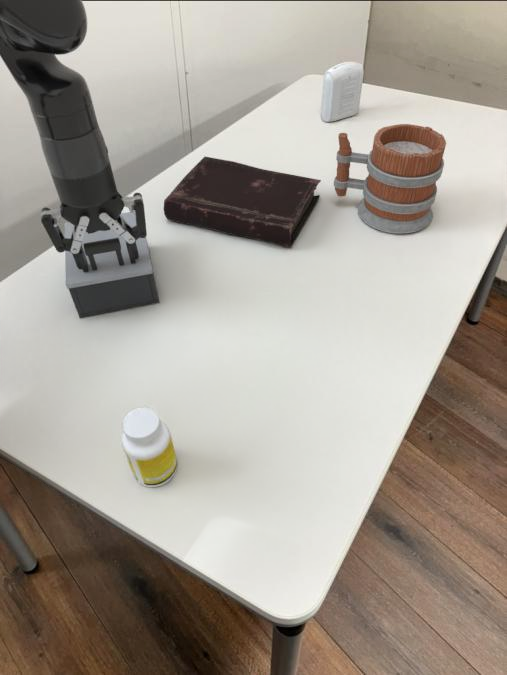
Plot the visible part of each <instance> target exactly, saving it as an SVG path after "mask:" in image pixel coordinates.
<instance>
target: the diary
mask: <svg viewBox="0 0 507 675" xmlns="http://www.w3.org/2000/svg"><path fill="white" fill-rule="evenodd" d="M321 182H322V180H321V179H318V178H311V177H307V176H301V175H297V174H291V173H286V172H285V173H284V172H280V171H276V170H275V171H274V170H269V169H264V168H259V167H255V166H252V165H248V164H244V163H241V162H238V161H233V160H227V159H221V158H216V157H210V156H203V157H202V158H201V160H199V161H198V163H197V164H195V165H194V166H193V168H191V170H189V172H187V174H186V175H185V176H184V177H183V178H182V179H181V180H180V182H179V183H178V184H177V185H176V186H175V187H174V189H173V190H172V191H171V192H170V193H169V194H168V195H167V196H166V197H165V199H164V201H163V213H164V216H165V219H166V220H168V221H170V222H176V223H182V224H186V225H191V226H195V227H200V228H205V229H208V230H212V231H216V232H220V233H224V234H228V235H233V236H238V237H243V238H248V239H252V240H253V239H254V240H257V241H258V240H259V241H263V242H265V243H269V244H273V245H276V246H277V245H278V246H281V247H283V248H288V249H292V247H293V245H294V242H295V241H296V240H297V238H298V236H299V235H300V232H301V231H302V230H303V227H305V224H306V222H307V220H308V219H309V217H310V216H311V214H312V212H313V210H314V208H315V207H316V205H317V203H318V201H319V199H320V197H321V196H320V194H318V195H315V191H316V190H317V187H318V186H319V184H320V183H321Z"/></svg>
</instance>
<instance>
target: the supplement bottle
mask: <svg viewBox="0 0 507 675" xmlns="http://www.w3.org/2000/svg"><path fill="white" fill-rule="evenodd" d="M122 430H123V432H122V434H121V446H122V449H123V452H124V453H125V457H126V459H127V462H128V465H129V467H130V470H131V472H132V474H133V476H134V479H135V480H136V482H138V483H139V484H140V485H141V486H144V487H147V488H158V487H161V486H163V485H165V484H167V483H168V482H169V481H171V480H172V479H173V477H174V476H175V474H176V472H177V468H178V459H177V454H176V451H175V446H174V443H173V439H172V434H171V432H170V428H169V426H168V425H167V423H166V422H165V421H164V420H162V418H160V415H159V413H158V412H157V411H156V410H155V409H154V408H150V407H147V406H146V407H145V406H144V407H137V408H133V410H131V411H130V412H128V413H127V414H126V415H125V417H124V419H123V420H122Z"/></svg>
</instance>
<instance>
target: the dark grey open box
mask: <svg viewBox="0 0 507 675" xmlns="http://www.w3.org/2000/svg"><path fill="white" fill-rule="evenodd" d="M146 240H147V241H148V239H147V238H146ZM147 245H148V246H149V244H148V243H147ZM148 250H149V251H150V249H149V247H148ZM149 255H150V256H151V254H150V252H149ZM150 260H151V261H152V259H151V257H150ZM151 265H152V266H153V263H152V262H151ZM152 270H153V271H154V269H153V267H152ZM68 291H69V293H70V296H71V299H72V301H73V304H74V307H75V309H76V312H77V315H78V317H79V319H83V318H87V317H94V316H99V315H103V314H104V315H105V314H109V313H114V312H119V311H125V310H129V309H135V308H140V307H145V306H146V307H147V306H151V305H155V304H160V300H159V299H160V298H159V294H158V288H157V283H156V278H155V273H154V272H153V273H152V274H147V275H141V276H136V277H130V278H125V279H119V280H114V281H108V282H103V283H97V284H92V285H86V286H81V287H75V288H70V289H68Z"/></svg>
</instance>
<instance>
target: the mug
mask: <svg viewBox="0 0 507 675" xmlns="http://www.w3.org/2000/svg"><path fill="white" fill-rule="evenodd" d="M348 137H349V136H348V133H347V132H340V133H338V137H337V138H338V143H339V144H338V145H339V148H338V150H337V152H336V162H337V163H336V164H337V167H336V176H335V177H334V180H333V187H334V190H335V194H336V196H337V197H339V198H343V197H346V196H347V191H348V189H354V190H361V191H362V195H363V198H362V199H361V201H360V202H359V203H358V206H357V212H358V215H359V217H360V219H362V221H363V222H364V224H367V225H368V226H369V227H370V228H372V229H374V230H377V231H380V232H382V233H387V234H393V235H405V234H406V235H407V234H413V233H415V232H416V233H417V232H418V231H421V230H423V229H425V228H426V227H428V226H429V225H430V224H431V222H432V221H433V218H434V213H433V210H432V206H433V205H434V204H435V200H436V197H437V193H438V186H437V182H438V181H439V180H440V179H441V177H442V174H443V170H444V167H445V160H444V154H445V149H446V146H447V140H446V139H445V136H444V135H443V134H442V133H439V132H438V131H436V130H434V129H433V128H432V127H431V126H421V125H418V124H417V125H416V124H410V123H398V124H392V125H388V126H383V127H381V128H379V129H378V130H377V131H376V132H375V134H374V137H373V143H372V150H370V151H369V153H362V152H361V153H360V152H354V151H352V150H353V148H352V146H351V141H350V140H349V138H348ZM351 163H355V164H363V165H366V170H367V172H368V175H367V176H366V177H365V179H360V178H352V177H350V168H351Z"/></svg>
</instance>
